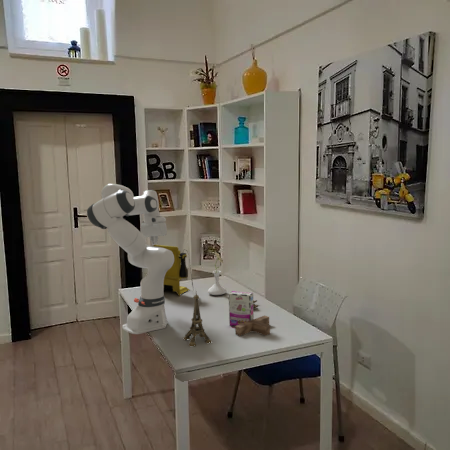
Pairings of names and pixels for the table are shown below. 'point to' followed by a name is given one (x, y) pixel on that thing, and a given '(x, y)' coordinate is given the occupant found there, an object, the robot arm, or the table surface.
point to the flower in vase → (217, 281)
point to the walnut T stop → (254, 326)
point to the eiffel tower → (194, 329)
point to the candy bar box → (240, 307)
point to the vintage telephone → (176, 270)
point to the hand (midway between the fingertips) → (154, 244)
